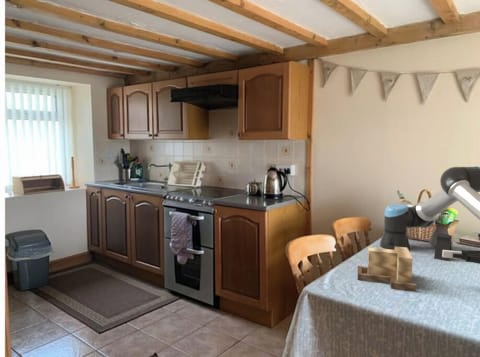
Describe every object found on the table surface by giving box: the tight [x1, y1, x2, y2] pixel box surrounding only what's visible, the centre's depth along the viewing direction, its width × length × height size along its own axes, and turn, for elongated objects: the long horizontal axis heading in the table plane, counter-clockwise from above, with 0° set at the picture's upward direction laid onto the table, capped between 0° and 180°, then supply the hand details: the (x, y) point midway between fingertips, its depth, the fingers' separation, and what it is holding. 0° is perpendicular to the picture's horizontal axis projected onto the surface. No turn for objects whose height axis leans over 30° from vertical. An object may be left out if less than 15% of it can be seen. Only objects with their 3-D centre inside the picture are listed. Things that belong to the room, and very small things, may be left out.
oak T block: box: [367, 247, 414, 283], centre depth 154 cm, size 16×16×12 cm
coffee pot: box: [428, 217, 453, 249], centre depth 206 cm, size 21×12×15 cm, turn 151°
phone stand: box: [433, 233, 453, 262], centre depth 183 cm, size 9×6×12 cm, turn 138°
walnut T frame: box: [357, 265, 417, 293], centre depth 154 cm, size 22×22×2 cm
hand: (442, 253), depth 146 cm, fingers closed
